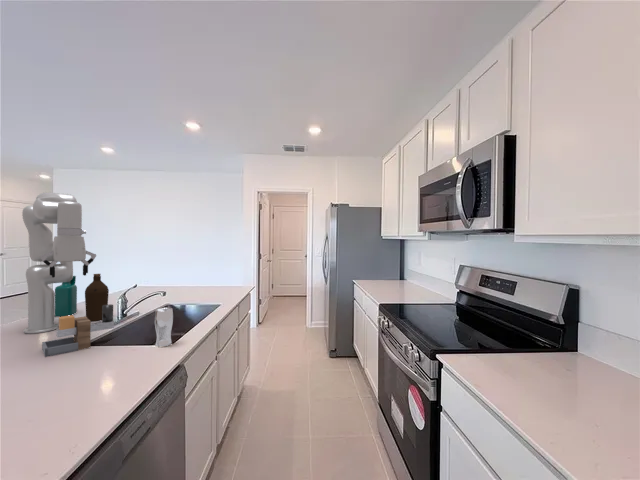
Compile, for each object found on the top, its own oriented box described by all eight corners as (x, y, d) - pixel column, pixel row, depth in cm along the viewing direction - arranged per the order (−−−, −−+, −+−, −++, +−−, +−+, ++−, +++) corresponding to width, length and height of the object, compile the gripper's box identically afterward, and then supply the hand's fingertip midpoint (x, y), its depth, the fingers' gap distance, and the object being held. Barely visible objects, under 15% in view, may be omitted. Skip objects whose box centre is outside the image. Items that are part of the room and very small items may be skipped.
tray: (42, 349, 123) (42, 342, 123) (73, 343, 131) (73, 336, 131) (45, 357, 116) (45, 349, 116) (78, 350, 123) (78, 342, 123)
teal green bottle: (70, 316, 175) (71, 277, 175) (53, 317, 173) (53, 277, 172) (79, 312, 184) (79, 275, 184) (62, 312, 182) (62, 275, 182)
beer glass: (167, 347, 127) (167, 311, 127) (150, 347, 128) (151, 311, 128) (175, 341, 134) (176, 307, 134) (160, 341, 135) (160, 307, 134)
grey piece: (56, 335, 124) (56, 310, 124) (111, 326, 138) (112, 304, 138) (57, 338, 121) (57, 312, 121) (114, 328, 135) (114, 305, 135)
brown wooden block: (73, 343, 130) (73, 318, 130) (85, 341, 133) (85, 316, 133) (78, 350, 123) (78, 322, 123) (90, 347, 126) (90, 320, 126)
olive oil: (112, 318, 171) (112, 273, 171) (90, 323, 162) (90, 275, 162) (102, 315, 176) (103, 272, 176) (80, 320, 167) (81, 274, 167)
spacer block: (58, 327, 125) (58, 316, 125) (72, 325, 128) (72, 315, 128) (60, 330, 122) (60, 318, 122) (74, 327, 125) (74, 317, 125)
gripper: (94, 233, 131) (94, 273, 131) (39, 232, 119) (39, 277, 119) (98, 233, 125) (97, 275, 125) (40, 232, 113) (40, 278, 113)
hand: (69, 276), depth 122 cm, fingers open, 9 cm apart
